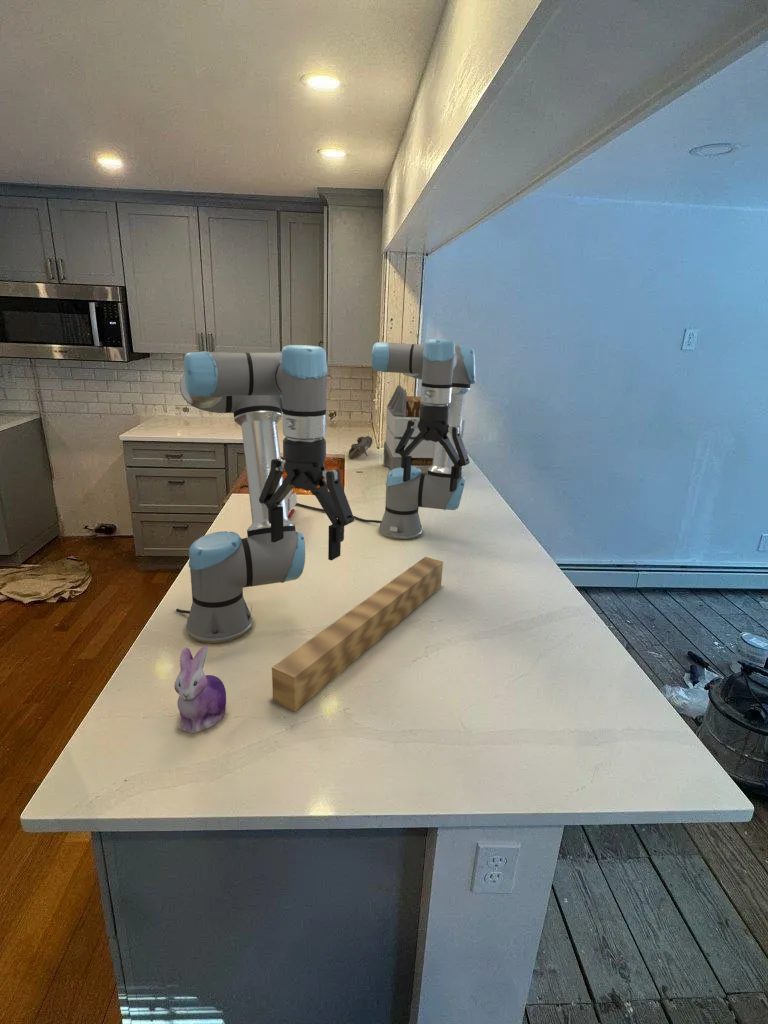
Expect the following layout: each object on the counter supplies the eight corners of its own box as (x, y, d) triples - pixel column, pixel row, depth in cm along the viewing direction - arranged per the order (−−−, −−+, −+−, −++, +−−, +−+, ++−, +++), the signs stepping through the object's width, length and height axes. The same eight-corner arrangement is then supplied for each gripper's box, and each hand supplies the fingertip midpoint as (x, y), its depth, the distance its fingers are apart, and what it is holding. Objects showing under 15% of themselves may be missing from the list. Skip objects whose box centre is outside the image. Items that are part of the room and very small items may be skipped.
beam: (423, 581, 166) (425, 556, 163) (441, 586, 163) (443, 561, 160) (272, 701, 113) (271, 667, 110) (294, 711, 110) (294, 677, 108)
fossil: (348, 442, 312) (369, 426, 307) (359, 455, 315) (380, 440, 310) (341, 456, 292) (364, 439, 287) (353, 470, 295) (376, 454, 290)
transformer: (382, 463, 289) (386, 382, 275) (445, 464, 293) (451, 384, 279) (390, 482, 257) (394, 392, 243) (460, 483, 261) (468, 394, 247)
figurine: (181, 742, 101) (174, 672, 96) (173, 708, 110) (166, 641, 105) (234, 727, 105) (230, 658, 100) (222, 695, 114) (218, 630, 109)
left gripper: (236, 430, 102) (241, 539, 109) (351, 452, 90) (348, 573, 97) (265, 424, 108) (268, 527, 115) (376, 444, 96) (371, 558, 104)
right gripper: (384, 399, 144) (381, 479, 151) (476, 412, 132) (467, 498, 139) (399, 396, 150) (395, 473, 157) (487, 408, 138) (479, 491, 145)
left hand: (305, 548), depth 106 cm, fingers open, 13 cm apart
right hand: (429, 485), depth 148 cm, fingers open, 13 cm apart
